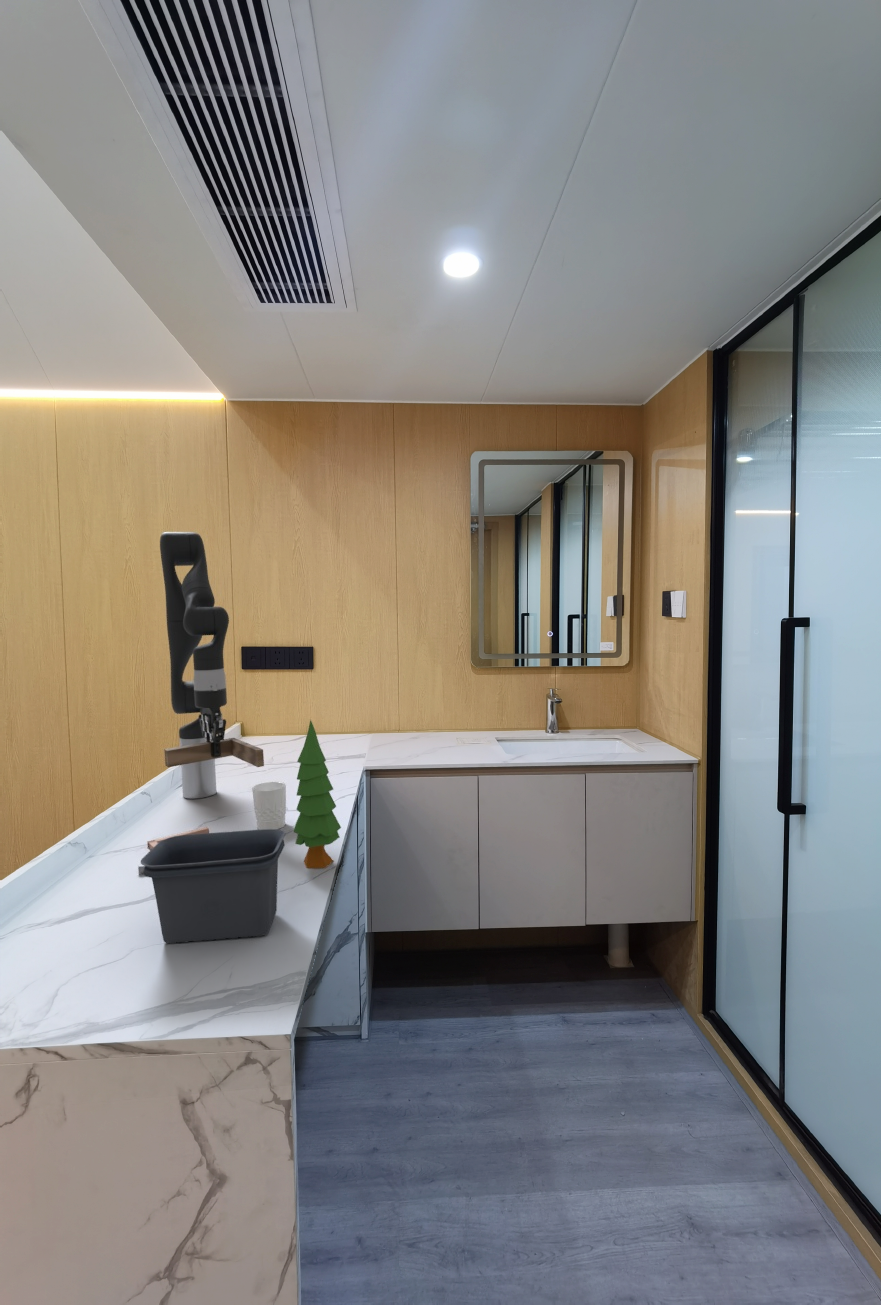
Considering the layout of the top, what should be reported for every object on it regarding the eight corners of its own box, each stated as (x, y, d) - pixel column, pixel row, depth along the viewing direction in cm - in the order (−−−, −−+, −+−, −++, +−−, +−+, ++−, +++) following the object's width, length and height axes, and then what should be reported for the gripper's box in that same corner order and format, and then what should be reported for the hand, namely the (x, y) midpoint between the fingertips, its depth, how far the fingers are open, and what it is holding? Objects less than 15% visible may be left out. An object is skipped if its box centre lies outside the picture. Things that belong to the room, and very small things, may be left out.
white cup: (294, 822, 158) (292, 782, 157) (275, 833, 150) (273, 791, 150) (266, 819, 160) (264, 780, 160) (247, 830, 153) (245, 789, 152)
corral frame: (147, 846, 144) (147, 841, 144) (207, 831, 153) (206, 826, 153) (168, 865, 133) (168, 860, 132) (231, 848, 141) (231, 843, 141)
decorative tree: (325, 851, 138) (319, 714, 136) (351, 862, 131) (345, 719, 129) (286, 864, 131) (279, 721, 129) (311, 877, 124) (304, 726, 122)
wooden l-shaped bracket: (165, 765, 153) (164, 749, 153) (234, 752, 163) (233, 737, 163) (189, 781, 138) (188, 763, 138) (264, 766, 149) (263, 749, 148)
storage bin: (139, 955, 98) (132, 865, 97) (173, 908, 113) (168, 830, 112) (279, 945, 99) (274, 856, 98) (294, 900, 115) (290, 823, 114)
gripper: (185, 686, 161) (190, 753, 162) (204, 691, 150) (208, 763, 151) (215, 683, 165) (219, 748, 167) (235, 688, 154) (239, 757, 156)
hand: (214, 755), depth 159 cm, fingers closed on wooden l-shaped bracket, 2 cm apart
